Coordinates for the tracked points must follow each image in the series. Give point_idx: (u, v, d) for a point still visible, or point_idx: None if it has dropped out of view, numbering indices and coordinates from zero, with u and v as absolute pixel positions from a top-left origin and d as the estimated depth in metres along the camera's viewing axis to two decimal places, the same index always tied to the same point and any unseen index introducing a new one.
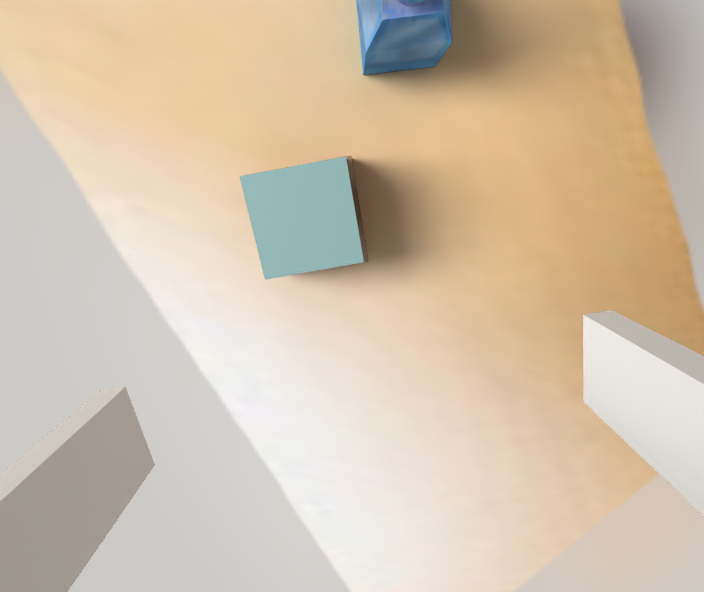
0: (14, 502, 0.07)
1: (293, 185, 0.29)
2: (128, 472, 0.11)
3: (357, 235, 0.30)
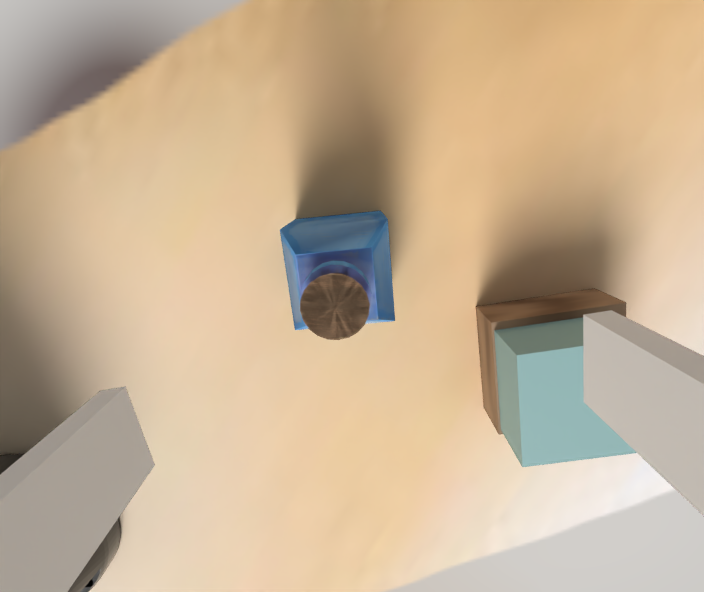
0: (14, 502, 0.07)
1: (541, 414, 0.24)
2: (128, 472, 0.11)
3: None
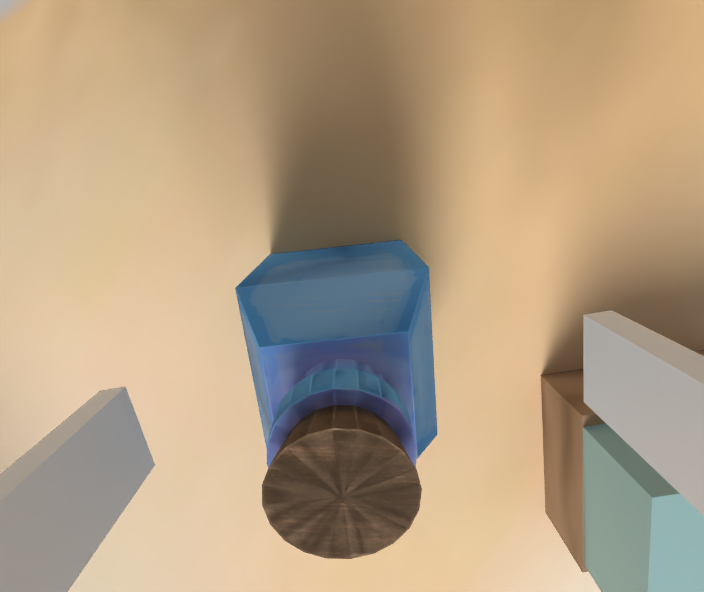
0: (14, 502, 0.07)
1: (684, 584, 0.14)
2: (128, 472, 0.11)
3: None
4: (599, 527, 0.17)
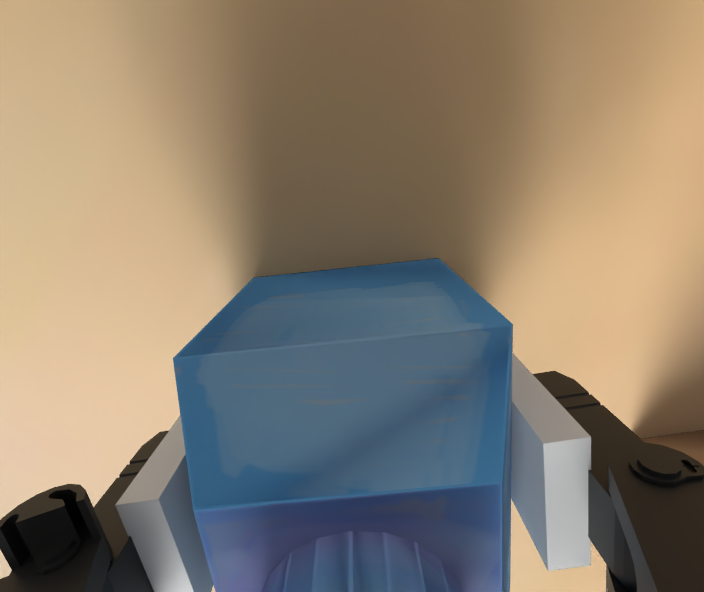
0: None
1: None
2: None
3: None
4: None
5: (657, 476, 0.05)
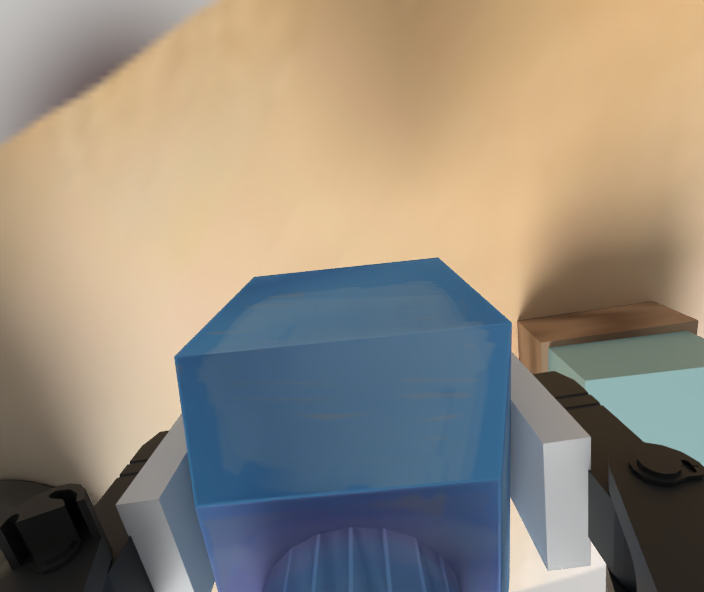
0: None
1: None
2: None
3: None
4: None
5: (656, 476, 0.05)
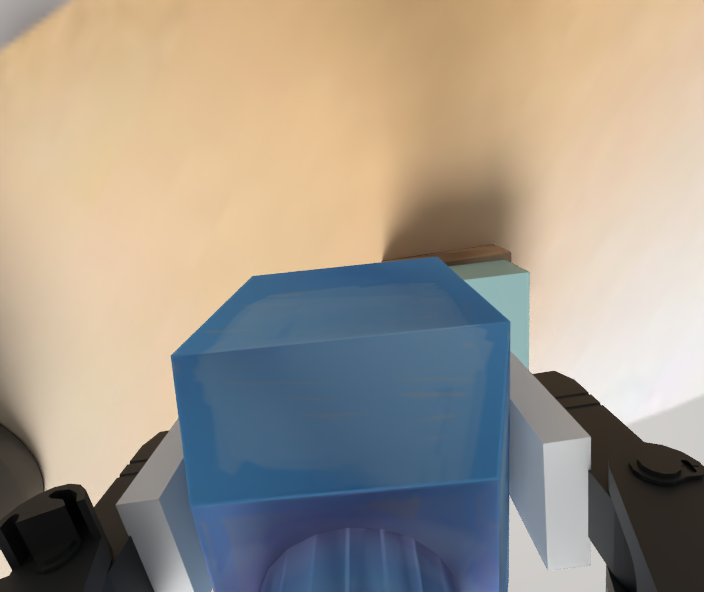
0: None
1: None
2: None
3: (494, 278, 0.24)
4: None
5: (657, 476, 0.05)
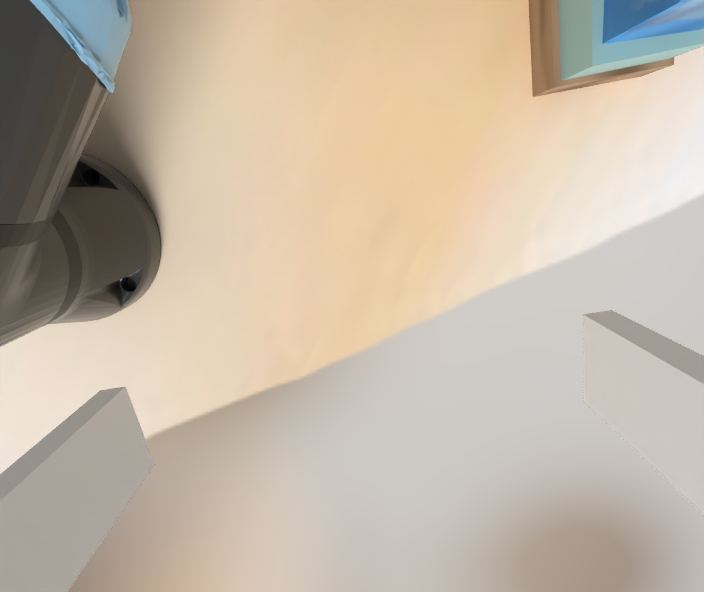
0: (14, 502, 0.07)
1: None
2: (128, 472, 0.11)
3: None
4: (567, 20, 0.28)
5: None
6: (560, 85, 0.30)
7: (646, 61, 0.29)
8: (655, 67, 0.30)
